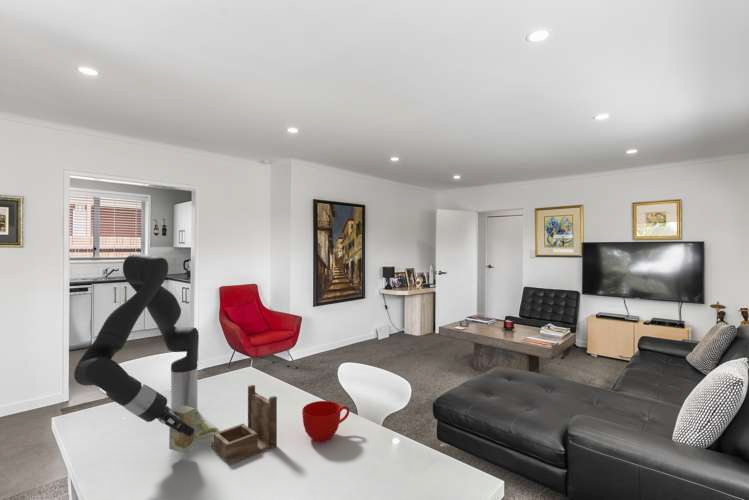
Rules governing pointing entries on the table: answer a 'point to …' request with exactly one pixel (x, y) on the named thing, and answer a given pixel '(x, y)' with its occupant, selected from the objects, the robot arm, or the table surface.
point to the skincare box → (181, 440)
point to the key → (205, 430)
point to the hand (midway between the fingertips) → (187, 428)
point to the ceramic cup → (322, 419)
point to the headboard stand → (250, 430)
